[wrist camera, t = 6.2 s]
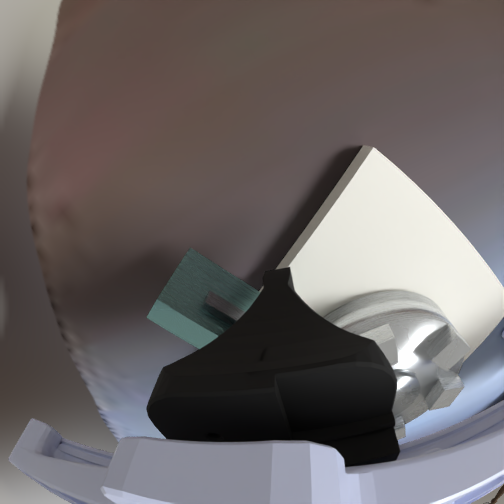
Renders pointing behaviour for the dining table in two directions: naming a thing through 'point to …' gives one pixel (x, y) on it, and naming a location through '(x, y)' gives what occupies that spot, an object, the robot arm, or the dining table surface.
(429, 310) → the teal elongated tool
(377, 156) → the base plate
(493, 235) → the dining table surface
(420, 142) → the dining table surface
